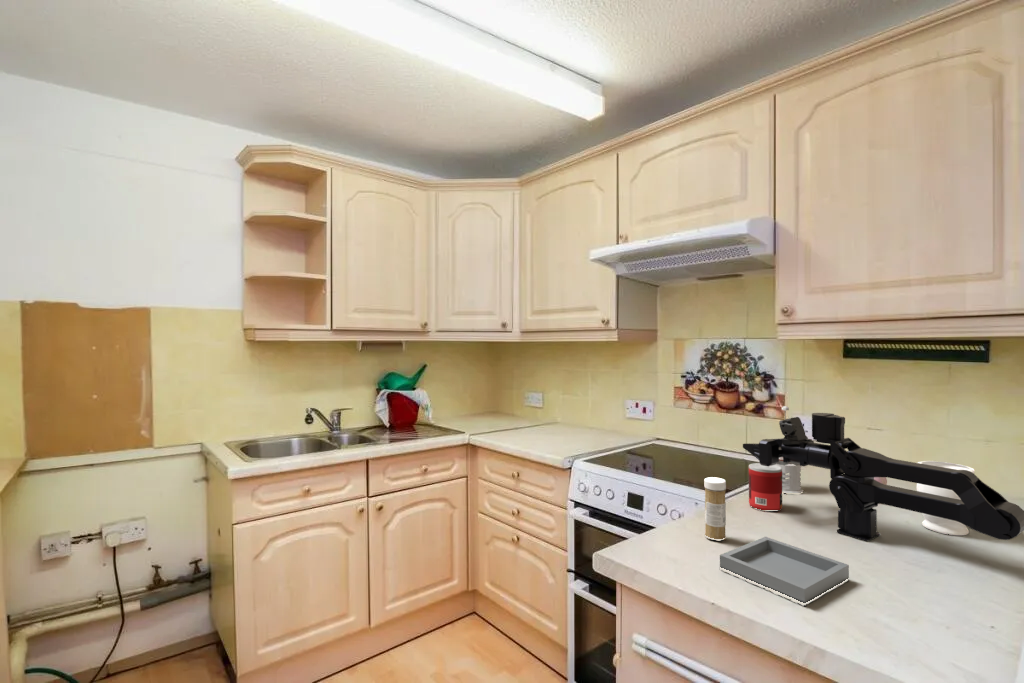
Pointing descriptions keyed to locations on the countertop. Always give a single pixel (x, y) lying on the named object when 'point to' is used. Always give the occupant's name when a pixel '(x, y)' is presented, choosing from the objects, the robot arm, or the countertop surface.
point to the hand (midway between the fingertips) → (752, 443)
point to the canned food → (765, 487)
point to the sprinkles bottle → (715, 507)
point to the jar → (938, 522)
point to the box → (785, 568)
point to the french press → (790, 473)
